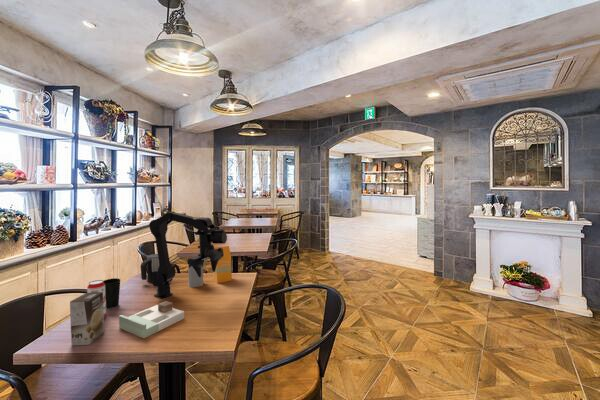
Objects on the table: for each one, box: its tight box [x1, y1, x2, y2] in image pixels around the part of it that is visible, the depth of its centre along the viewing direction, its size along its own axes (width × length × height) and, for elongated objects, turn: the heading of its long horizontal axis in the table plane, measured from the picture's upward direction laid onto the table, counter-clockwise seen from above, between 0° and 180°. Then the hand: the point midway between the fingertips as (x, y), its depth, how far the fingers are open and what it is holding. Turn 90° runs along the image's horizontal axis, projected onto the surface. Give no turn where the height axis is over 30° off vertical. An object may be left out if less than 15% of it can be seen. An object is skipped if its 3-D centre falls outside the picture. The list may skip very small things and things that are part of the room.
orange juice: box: [212, 245, 233, 284], centre depth 171 cm, size 8×9×20 cm
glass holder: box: [187, 262, 205, 288], centre depth 166 cm, size 9×14×15 cm, turn 21°
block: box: [157, 300, 174, 313], centre depth 124 cm, size 4×4×3 cm
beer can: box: [86, 279, 107, 319], centre depth 122 cm, size 6×6×16 cm
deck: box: [118, 304, 185, 339], centre depth 119 cm, size 16×18×5 cm
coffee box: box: [69, 292, 105, 346], centre depth 107 cm, size 9×6×16 cm
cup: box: [103, 277, 121, 310], centre depth 135 cm, size 8×8×12 cm
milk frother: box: [140, 253, 159, 283], centre depth 168 cm, size 14×16×15 cm
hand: (207, 274), depth 143 cm, fingers open, 9 cm apart
